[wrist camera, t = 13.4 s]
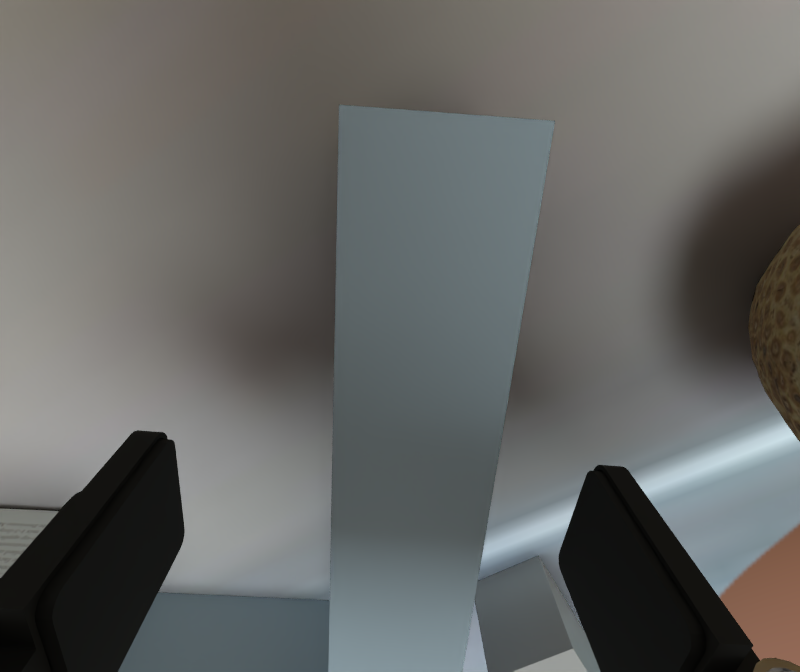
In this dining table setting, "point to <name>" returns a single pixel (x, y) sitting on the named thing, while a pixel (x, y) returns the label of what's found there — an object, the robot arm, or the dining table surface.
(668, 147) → the dining table surface
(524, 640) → the grey plastic stick
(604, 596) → the robot arm
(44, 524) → the skincare box
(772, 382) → the natural sponge
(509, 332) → the crook
